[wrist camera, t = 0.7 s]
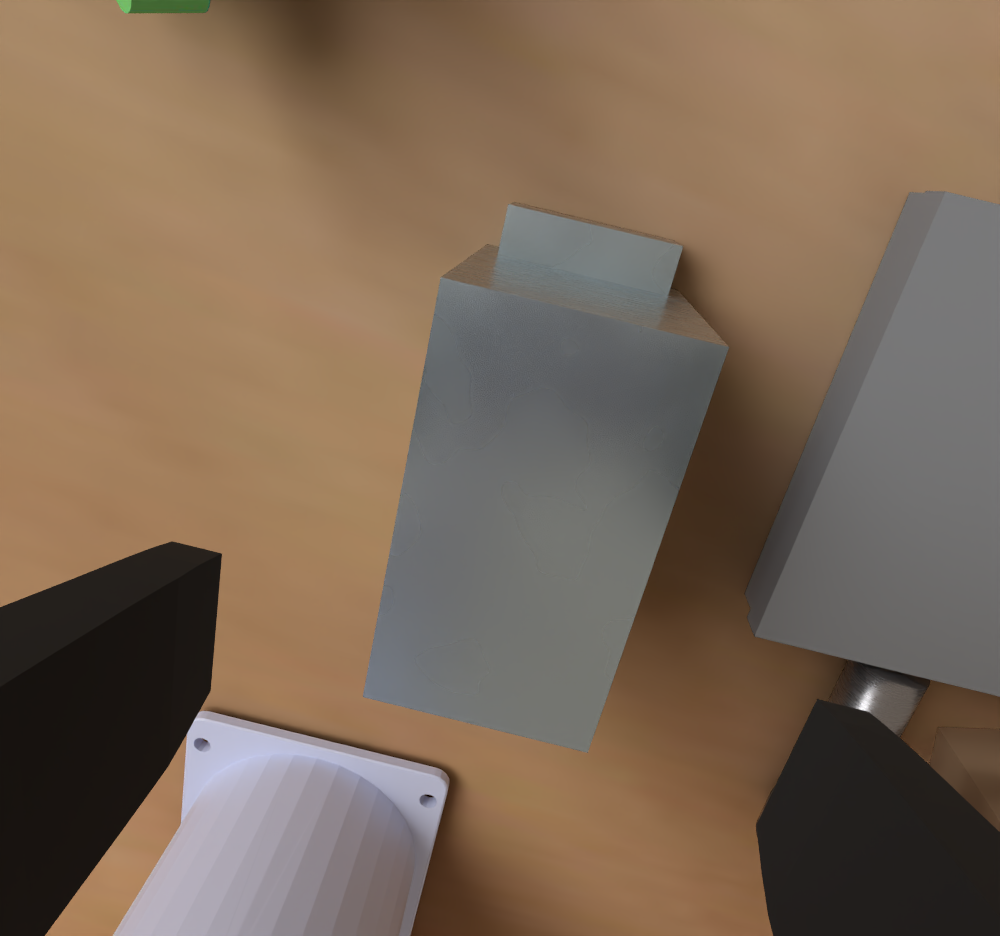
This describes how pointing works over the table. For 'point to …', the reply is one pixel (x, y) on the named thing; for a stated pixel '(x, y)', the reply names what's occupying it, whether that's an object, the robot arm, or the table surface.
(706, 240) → the table surface
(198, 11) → the blue bumpy figure
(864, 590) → the stand
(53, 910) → the robot arm
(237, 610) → the table surface
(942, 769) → the walnut block
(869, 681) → the bolt
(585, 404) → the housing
